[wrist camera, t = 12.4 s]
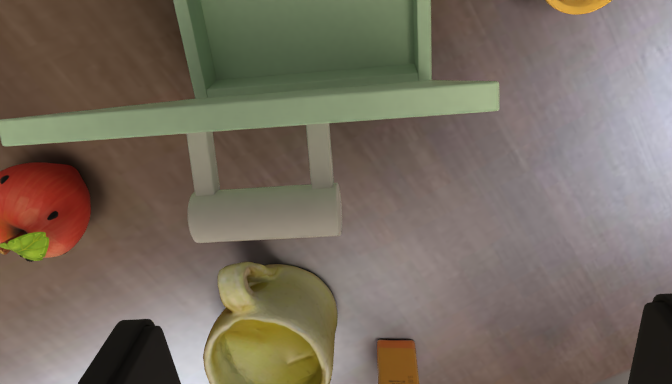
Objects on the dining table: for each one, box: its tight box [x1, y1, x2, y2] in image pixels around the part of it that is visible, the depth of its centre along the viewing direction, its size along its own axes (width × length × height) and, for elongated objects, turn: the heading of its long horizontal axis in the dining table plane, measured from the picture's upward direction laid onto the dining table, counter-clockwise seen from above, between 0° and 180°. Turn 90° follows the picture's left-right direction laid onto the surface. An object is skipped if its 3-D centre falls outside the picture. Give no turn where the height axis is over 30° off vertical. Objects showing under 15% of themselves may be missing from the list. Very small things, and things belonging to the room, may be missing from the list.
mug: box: [203, 262, 337, 384], centre depth 38 cm, size 12×10×10 cm
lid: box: [0, 80, 499, 243], centre depth 23 cm, size 16×15×5 cm
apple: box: [0, 162, 91, 262], centre depth 34 cm, size 8×7×10 cm
